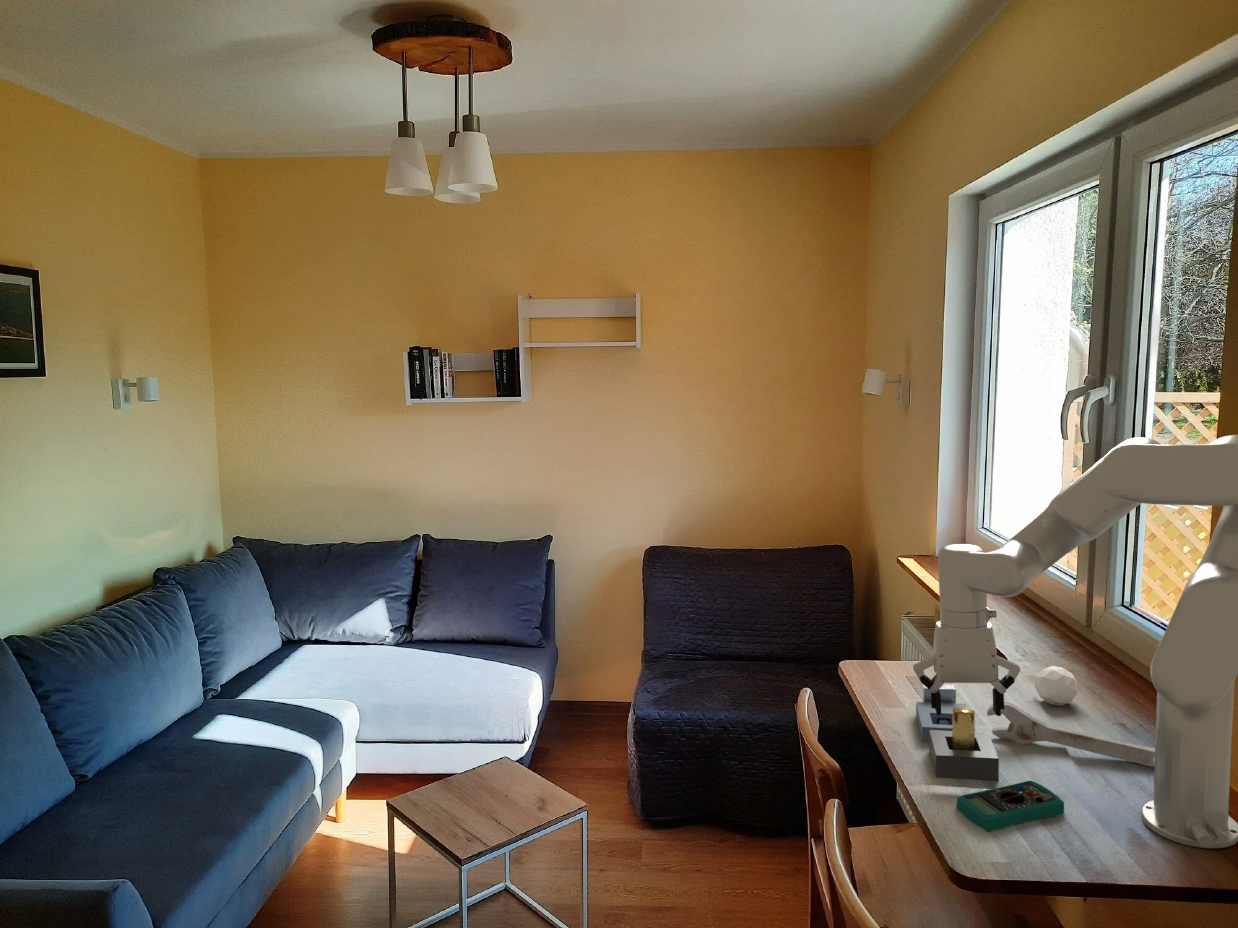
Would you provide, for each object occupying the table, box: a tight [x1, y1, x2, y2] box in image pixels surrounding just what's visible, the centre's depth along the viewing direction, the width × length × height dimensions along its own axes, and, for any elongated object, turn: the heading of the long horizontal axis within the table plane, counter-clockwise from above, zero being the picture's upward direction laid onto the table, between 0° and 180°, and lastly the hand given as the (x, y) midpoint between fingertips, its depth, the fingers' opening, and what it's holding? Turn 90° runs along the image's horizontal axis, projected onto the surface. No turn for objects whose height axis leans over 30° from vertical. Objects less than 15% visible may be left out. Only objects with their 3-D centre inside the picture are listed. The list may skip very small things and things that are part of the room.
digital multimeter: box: [956, 780, 1065, 832], centre depth 140 cm, size 8×16×3 cm, turn 106°
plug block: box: [922, 683, 957, 725], centre depth 172 cm, size 9×6×6 cm
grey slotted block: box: [929, 730, 1000, 782], centre depth 153 cm, size 10×10×5 cm
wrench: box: [986, 701, 1155, 768], centre depth 157 cm, size 8×2×30 cm
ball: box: [1034, 665, 1079, 707], centre depth 179 cm, size 8×8×8 cm
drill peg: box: [952, 706, 976, 751], centre depth 153 cm, size 4×4×10 cm
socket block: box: [915, 701, 967, 744], centre depth 167 cm, size 12×9×4 cm
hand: (967, 712), depth 152 cm, fingers open, 9 cm apart
